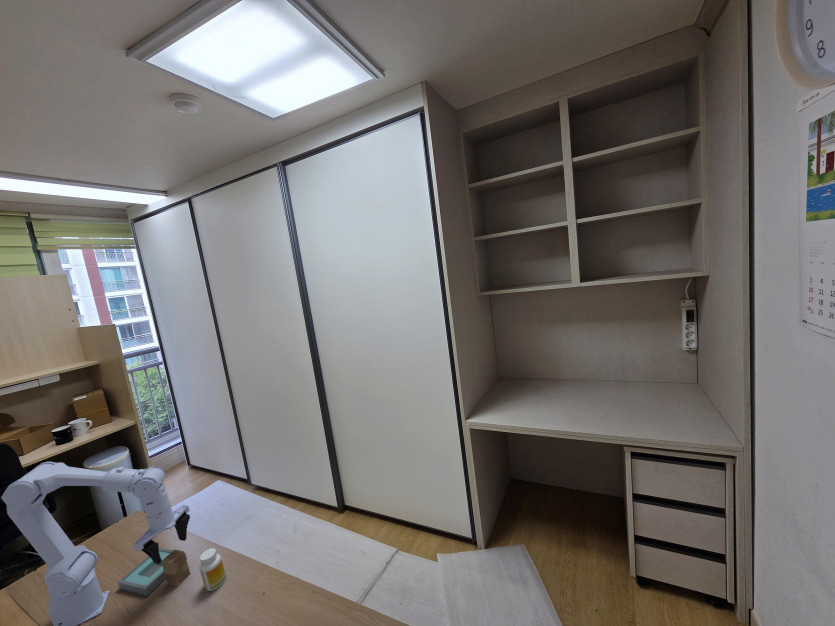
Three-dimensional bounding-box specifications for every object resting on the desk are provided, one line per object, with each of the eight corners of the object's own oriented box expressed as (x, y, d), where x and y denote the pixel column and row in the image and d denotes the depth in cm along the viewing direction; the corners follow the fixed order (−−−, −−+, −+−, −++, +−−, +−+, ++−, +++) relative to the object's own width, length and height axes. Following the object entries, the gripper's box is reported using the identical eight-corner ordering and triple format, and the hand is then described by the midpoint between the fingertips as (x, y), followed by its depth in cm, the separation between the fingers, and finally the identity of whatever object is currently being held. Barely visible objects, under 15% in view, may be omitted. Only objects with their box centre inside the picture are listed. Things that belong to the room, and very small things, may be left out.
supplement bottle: (230, 573, 99) (222, 545, 98) (218, 591, 94) (209, 562, 92) (214, 574, 100) (206, 546, 98) (200, 591, 94) (192, 562, 93)
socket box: (147, 596, 95) (145, 589, 95) (119, 589, 99) (117, 582, 99) (187, 559, 107) (185, 552, 106) (160, 554, 110) (158, 547, 110)
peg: (177, 586, 97) (170, 563, 96) (168, 584, 98) (160, 561, 97) (190, 573, 101) (183, 551, 100) (181, 571, 102) (174, 549, 101)
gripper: (141, 532, 88) (155, 575, 90) (191, 493, 101) (202, 532, 104) (123, 529, 90) (137, 571, 92) (175, 491, 104) (186, 529, 106)
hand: (170, 550), depth 98 cm, fingers open, 7 cm apart
